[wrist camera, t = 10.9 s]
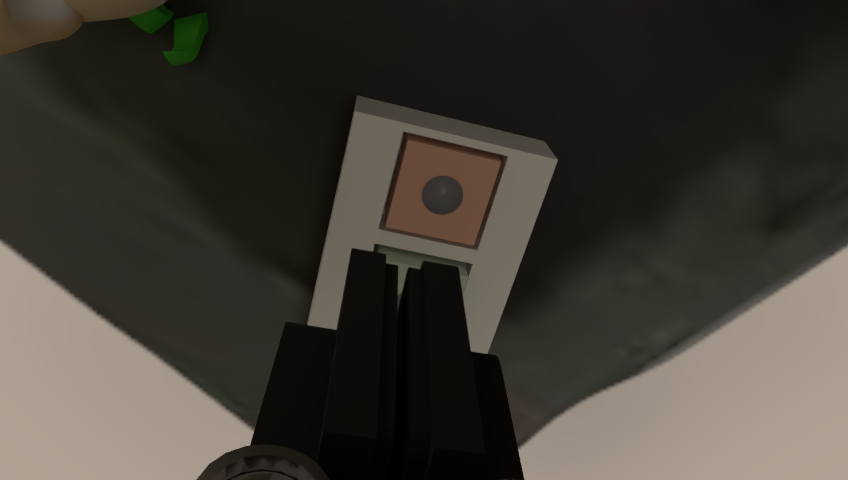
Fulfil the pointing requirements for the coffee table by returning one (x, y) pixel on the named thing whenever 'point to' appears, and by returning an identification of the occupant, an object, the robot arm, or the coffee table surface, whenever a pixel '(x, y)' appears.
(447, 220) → the terracotta key
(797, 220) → the coffee table surface
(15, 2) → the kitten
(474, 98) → the coffee table surface
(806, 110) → the coffee table surface
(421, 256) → the sage key
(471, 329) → the keypad
